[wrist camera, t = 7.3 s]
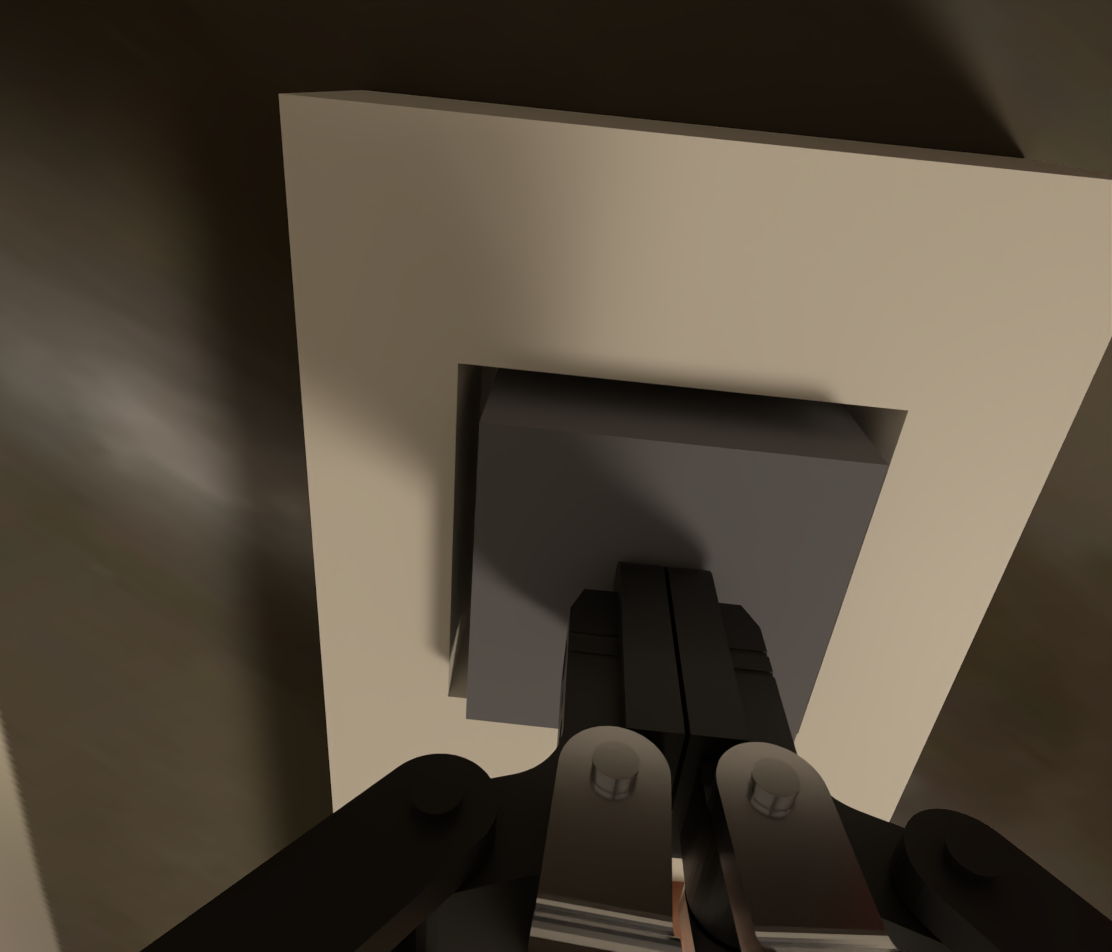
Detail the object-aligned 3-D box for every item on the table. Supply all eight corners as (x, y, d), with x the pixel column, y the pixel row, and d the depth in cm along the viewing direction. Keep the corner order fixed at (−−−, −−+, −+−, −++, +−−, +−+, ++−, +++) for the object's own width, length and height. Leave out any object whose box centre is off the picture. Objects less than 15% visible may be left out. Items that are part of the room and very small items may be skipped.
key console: (363, 89, 13) (279, 93, 10) (1027, 159, 13) (1179, 186, 10) (386, 935, 26) (352, 1071, 22) (733, 973, 26) (754, 1115, 22)
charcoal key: (503, 355, 14) (479, 421, 11) (832, 389, 14) (887, 465, 11) (487, 615, 16) (465, 719, 14) (759, 644, 16) (789, 753, 14)
